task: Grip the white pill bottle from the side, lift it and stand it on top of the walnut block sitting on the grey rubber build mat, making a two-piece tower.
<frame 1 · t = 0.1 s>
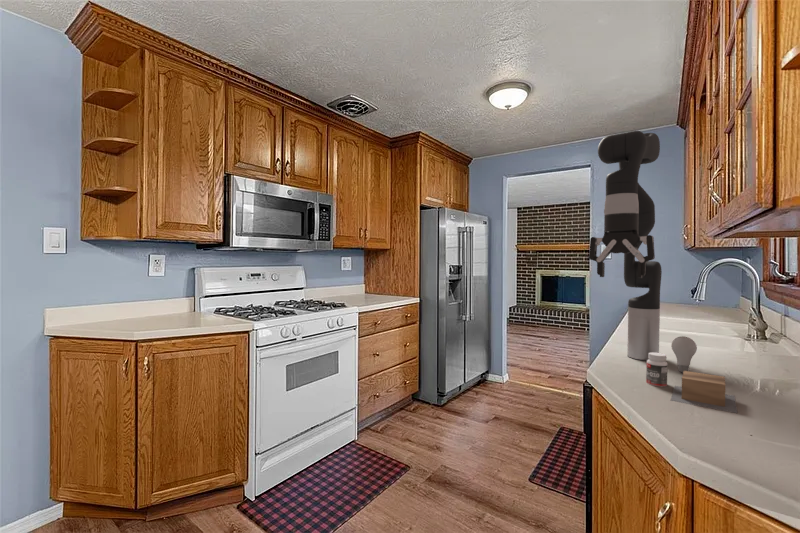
hand: (620, 277, 99), 29 cm above the counter, tool pointing down, fingers open, 8 cm apart
walnut block: (703, 397, 94), resting on build mat
pill bottle: (656, 385, 105), on the counter
build mat: (703, 399, 94), on the counter
lightbulb: (683, 374, 116), on the counter
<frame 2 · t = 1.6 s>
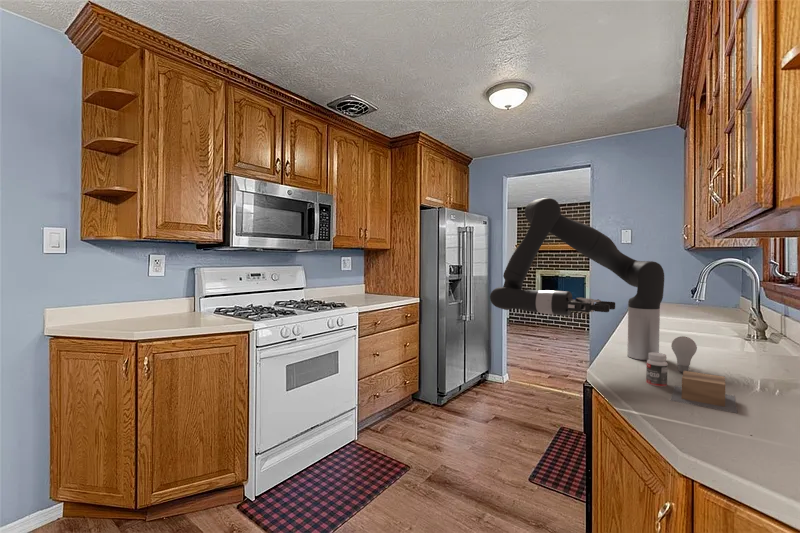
hand: (612, 307, 111), 20 cm above the counter, tool horizontal, fingers open, 8 cm apart
nothing on the counter moved.
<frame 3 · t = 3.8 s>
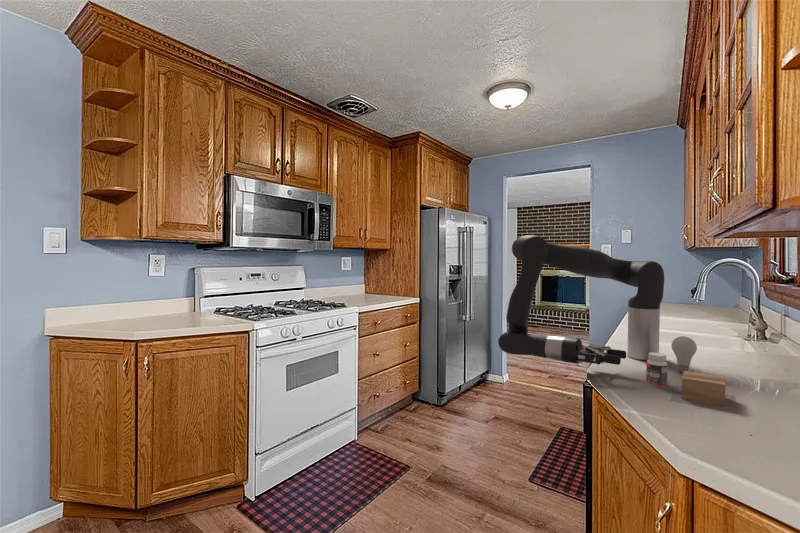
hand: (623, 357, 110), 6 cm above the counter, tool horizontal, fingers open, 8 cm apart
nothing on the counter moved.
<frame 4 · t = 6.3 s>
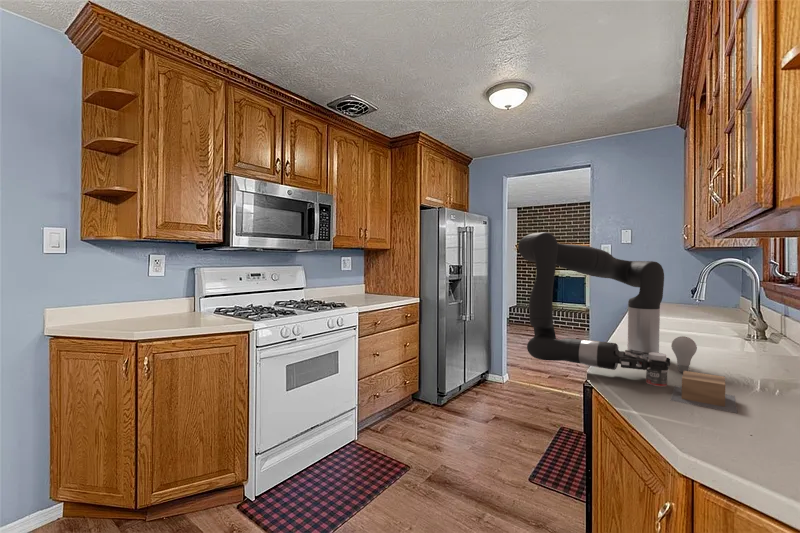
hand: (668, 364, 103), 6 cm above the counter, tool horizontal, fingers closed on pill bottle, 4 cm apart
pill bottle: (656, 385, 105), on the counter, touching gripper
everything else where it was.
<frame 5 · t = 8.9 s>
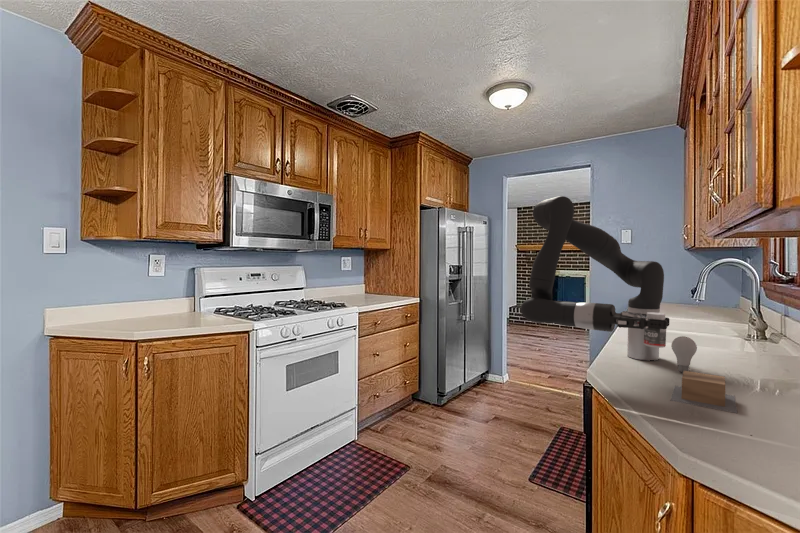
hand: (667, 323, 98), 18 cm above the counter, tool horizontal, fingers closed on pill bottle, 4 cm apart
pill bottle: (654, 346, 100), point 11 cm above the counter, touching gripper
everything else where it was.
when the fingers open (12 cm above the counter, at t = 12.1 s): pill bottle stays where it is, resting on walnut block.
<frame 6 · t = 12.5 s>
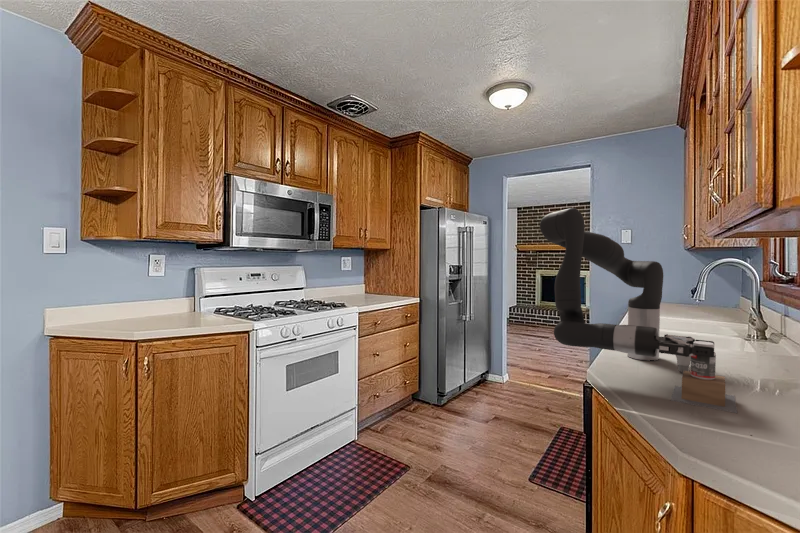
hand: (714, 349, 92), 13 cm above the counter, tool horizontal, fingers open, 8 cm apart
walnut block: (703, 397, 94), resting on build mat, touching pill bottle
pill bottle: (702, 378, 94), point 5 cm above the counter, touching walnut block
everything else where it was.
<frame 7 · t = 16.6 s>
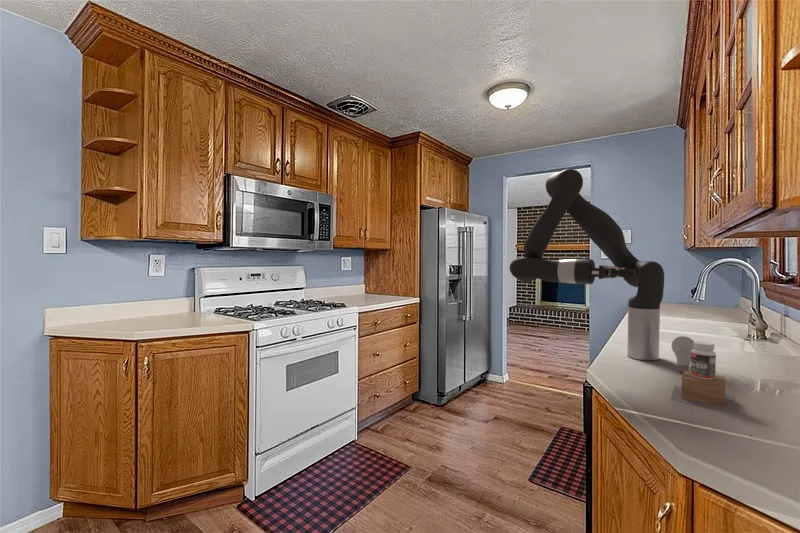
hand: (637, 272, 109), 30 cm above the counter, tool horizontal, fingers open, 8 cm apart
nothing on the counter moved.
at the end: pill bottle inside the target area on the walnut block (0.1 cm from its centre), point 4.8 cm above the walnut block's base; pill bottle tilted 0°; the gripper is holding nothing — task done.
